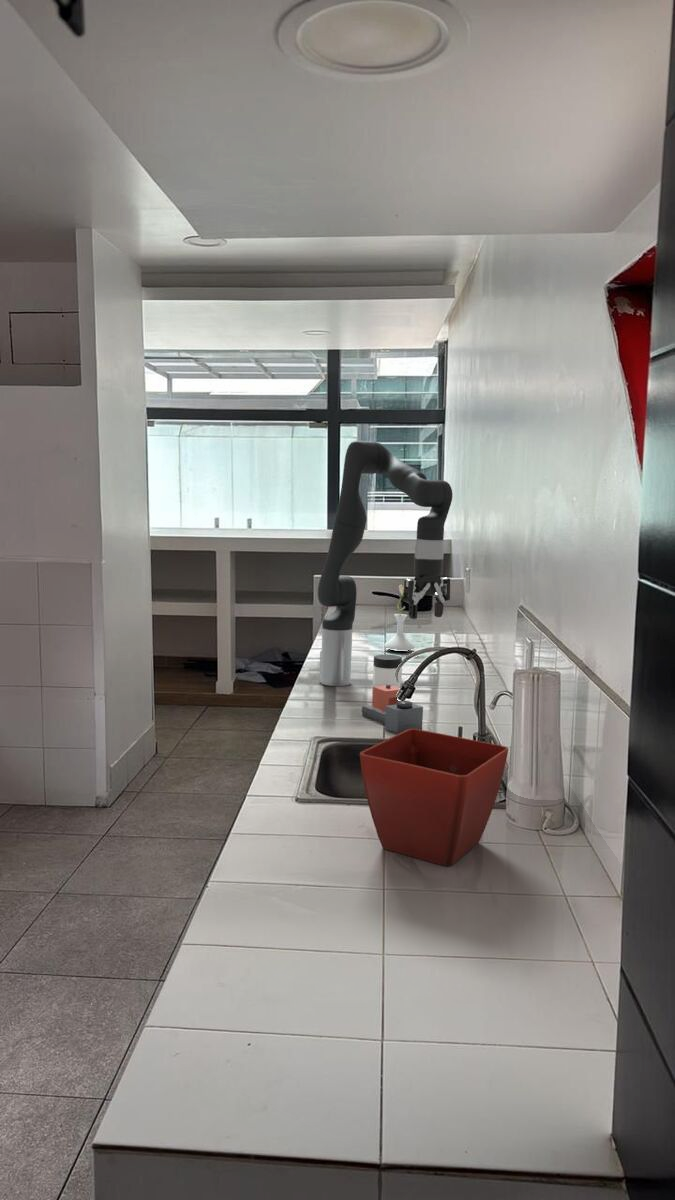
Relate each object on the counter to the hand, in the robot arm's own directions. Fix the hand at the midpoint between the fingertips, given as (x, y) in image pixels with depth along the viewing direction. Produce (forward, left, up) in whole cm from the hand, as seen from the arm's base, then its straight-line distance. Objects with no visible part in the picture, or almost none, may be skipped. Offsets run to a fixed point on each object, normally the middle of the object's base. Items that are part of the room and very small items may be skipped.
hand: (425, 617), depth 231 cm
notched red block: (-9, -4, -27) cm, 28 cm away
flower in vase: (-78, +54, -27) cm, 99 cm away
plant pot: (+69, -54, -27) cm, 92 cm away
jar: (-20, +4, -27) cm, 34 cm away
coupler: (+2, -13, -26) cm, 30 cm away
